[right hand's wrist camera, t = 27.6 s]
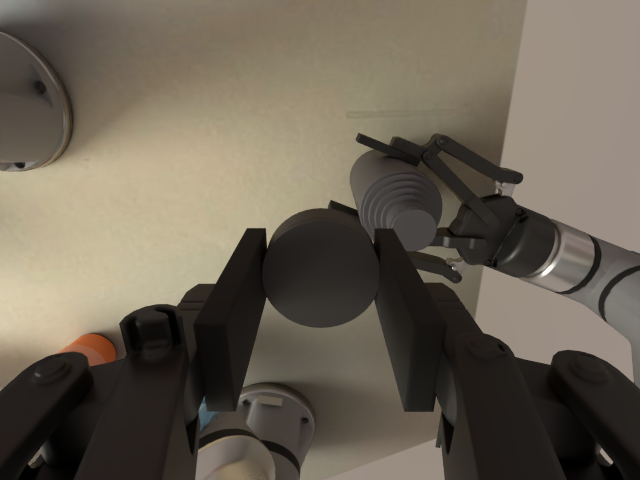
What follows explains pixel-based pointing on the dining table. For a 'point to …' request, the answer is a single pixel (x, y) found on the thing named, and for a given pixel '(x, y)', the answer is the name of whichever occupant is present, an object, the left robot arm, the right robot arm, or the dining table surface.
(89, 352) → the cup with straw
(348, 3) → the dining table surface
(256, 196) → the dining table surface
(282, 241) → the cap
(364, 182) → the bottle
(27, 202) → the dining table surface
